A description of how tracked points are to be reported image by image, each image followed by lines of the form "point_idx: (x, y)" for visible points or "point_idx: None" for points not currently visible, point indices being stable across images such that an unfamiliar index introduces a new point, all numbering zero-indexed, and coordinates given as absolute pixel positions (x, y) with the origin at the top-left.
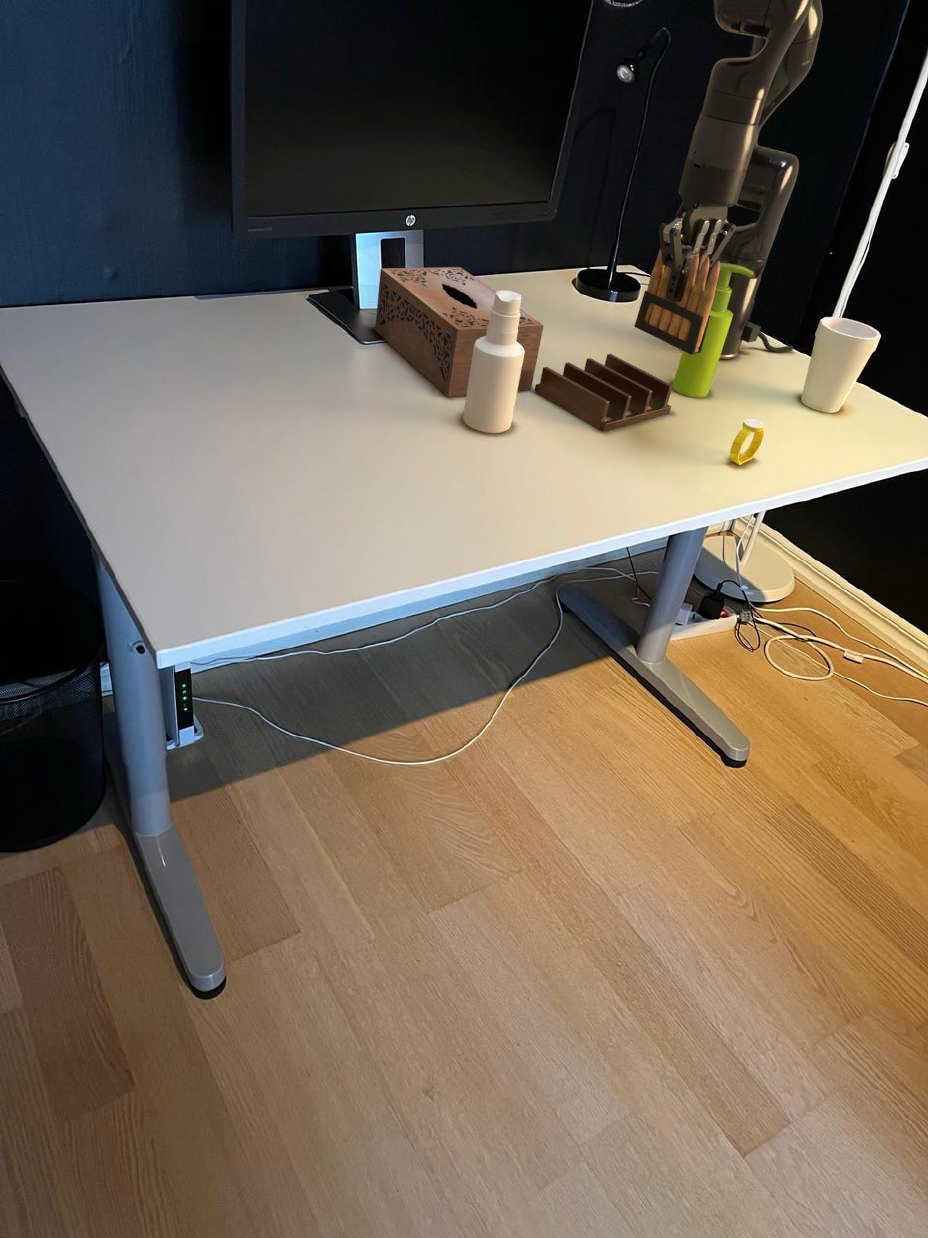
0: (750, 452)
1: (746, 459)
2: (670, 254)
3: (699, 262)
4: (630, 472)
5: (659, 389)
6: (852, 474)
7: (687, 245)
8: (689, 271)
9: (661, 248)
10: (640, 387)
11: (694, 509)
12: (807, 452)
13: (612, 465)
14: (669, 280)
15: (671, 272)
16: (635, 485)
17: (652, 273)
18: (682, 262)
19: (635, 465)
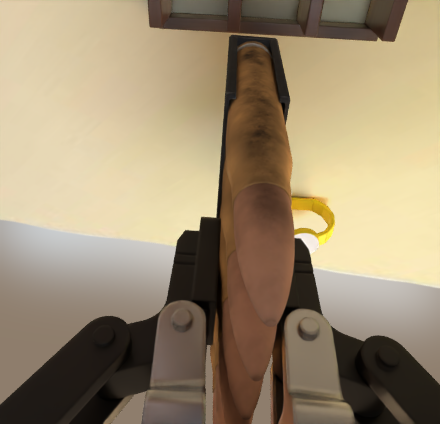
0: (317, 209)
1: (301, 209)
2: (101, 382)
3: (272, 394)
4: (105, 144)
5: (385, 7)
6: (395, 278)
7: (290, 411)
8: (219, 353)
9: (2, 406)
10: (309, 4)
11: (123, 231)
12: (416, 231)
13: (90, 118)
14: (172, 274)
15: (166, 302)
16: (87, 169)
17: (230, 150)
18: (126, 401)
19: (128, 135)
